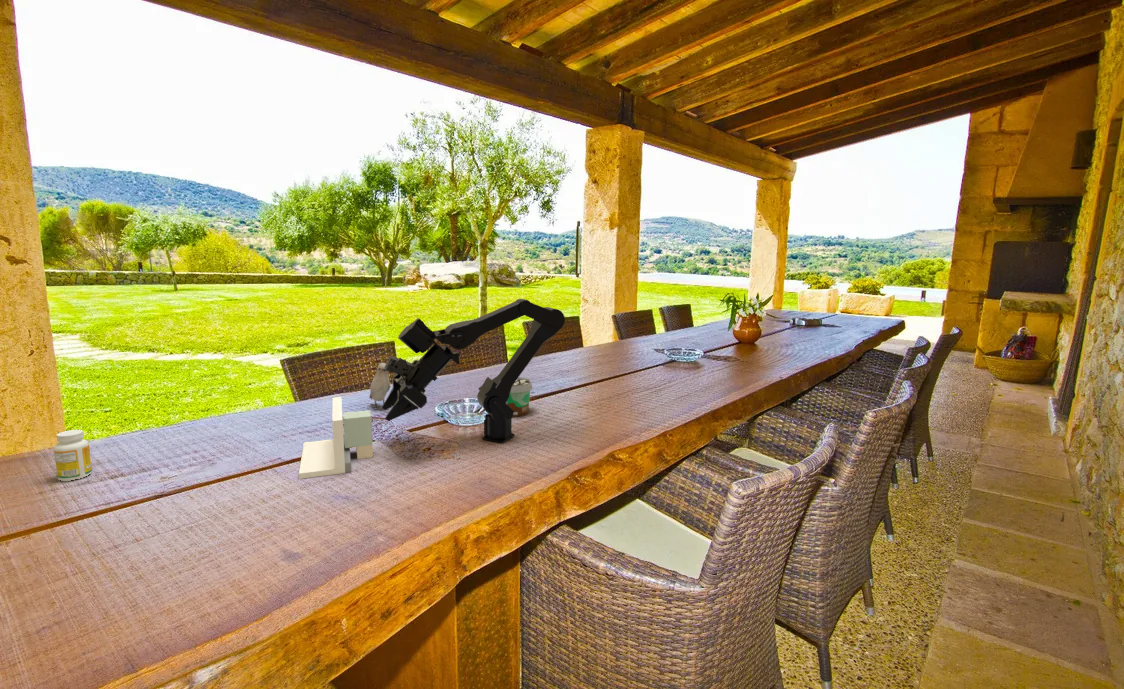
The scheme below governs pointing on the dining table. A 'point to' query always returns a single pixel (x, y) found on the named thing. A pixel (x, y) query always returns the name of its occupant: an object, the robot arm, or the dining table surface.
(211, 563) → the dining table surface
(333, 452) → the cream l-shaped piece
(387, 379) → the bird
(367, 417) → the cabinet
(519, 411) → the food container
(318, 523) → the dining table surface
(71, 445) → the supplement bottle
